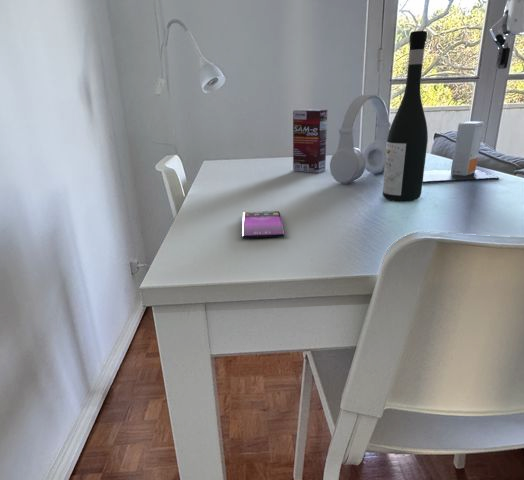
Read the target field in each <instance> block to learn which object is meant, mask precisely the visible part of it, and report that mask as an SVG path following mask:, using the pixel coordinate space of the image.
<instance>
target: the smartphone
mask: <svg viewBox="0 0 524 480" xmlns="http://www.w3.org/2000/svg"><path fill="white" fill-rule="evenodd" d="M284 229H285V228H284V226H283V221H282V216H281V212H280V211H279V210H269V211H268V210H267V211H266V210H265V211H245V212H243V213H242V223H241V238H243V239H253V238H254V239H255V238H281V237H285V231H284Z"/></svg>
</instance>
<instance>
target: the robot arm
mask: <svg viewBox="0 0 524 480" xmlns="http://www.w3.org/2000/svg"><path fill="white" fill-rule="evenodd" d="M489 33H490V35H491V37H492V38H493V41H494V43H495V44H496V46H497V49H498V53H497V60H496V65H497V67H496V68H497V69H498V70H502V69H503V70H504V69H507V68H508V63H509V58H510V52H511V48H510V47H509V46H510V44H511V42H512V41H513V39H514V37H515V36H524V0H506V3H505V7H504V11H503V15H502V17H501V18H499V19H498V20H497V21H496V22H495V23H494V24H493V25H492V26H491V27H490V28H489Z"/></svg>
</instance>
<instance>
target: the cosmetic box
mask: <svg viewBox="0 0 524 480" xmlns="http://www.w3.org/2000/svg"><path fill="white" fill-rule="evenodd" d="M484 126H485V122H484V121H470V120H469V121H464V122H460V123H458V125H457V131H456V136H455V143H454V150H453V157H452V161H451V169H450V170H451V173H450V174H451V175H461V176H467V175H469V174H472V173H475V170H477V165H478V158H479V153H480V147H481V143H482V137H483V132H484Z"/></svg>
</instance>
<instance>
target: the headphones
mask: <svg viewBox="0 0 524 480" xmlns="http://www.w3.org/2000/svg"><path fill="white" fill-rule="evenodd" d="M367 101H370V102H371V104H372V106H373V108H374V111H375V115H376V121H377V122H376V127H377V128H376V132H375V133H376V134H375V138H374V140H373V142H371V143H369V144H367V145H366V147H365V148H364V149H363V152H362V150H360V149H359V148H357V147H354V134H355V129H354V128H355V124H356V121H357V117H358V115H359V113H360V111H361V109H362V107H363V106H364V104H365V103H366V102H367ZM391 125H392V122H390V117H389V111H388V107H387V105H386V103H385V101H384V99H383V98H382V97H381V96H380V95H378V94H360V95H358V96H357V97H355V98H354V99H353V100H352V101H351V103H350V104H349V106H348V107H347V109H346V111H345V114H344V117H343V120H342V123H341V127H340V128H339V129H338V133H339V139H338V145H337V148H336V150H335V152H333V154H332V156H331V158H330V161H329V171H330V174H331V176H332V178H333V180H335V181H336V182H337V183H340V184H343V185H346V184H351V183H353V182H355V181H357V180H358V179H360V178H361V177H362V176H363V174H364V173H365V170H366V171H367V172H369V174H370V173H371V174H373V175H374V174H375V175H377V174H384V169H385V157H386V146H387V139H388V134H389V131H390V127H391Z"/></svg>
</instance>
